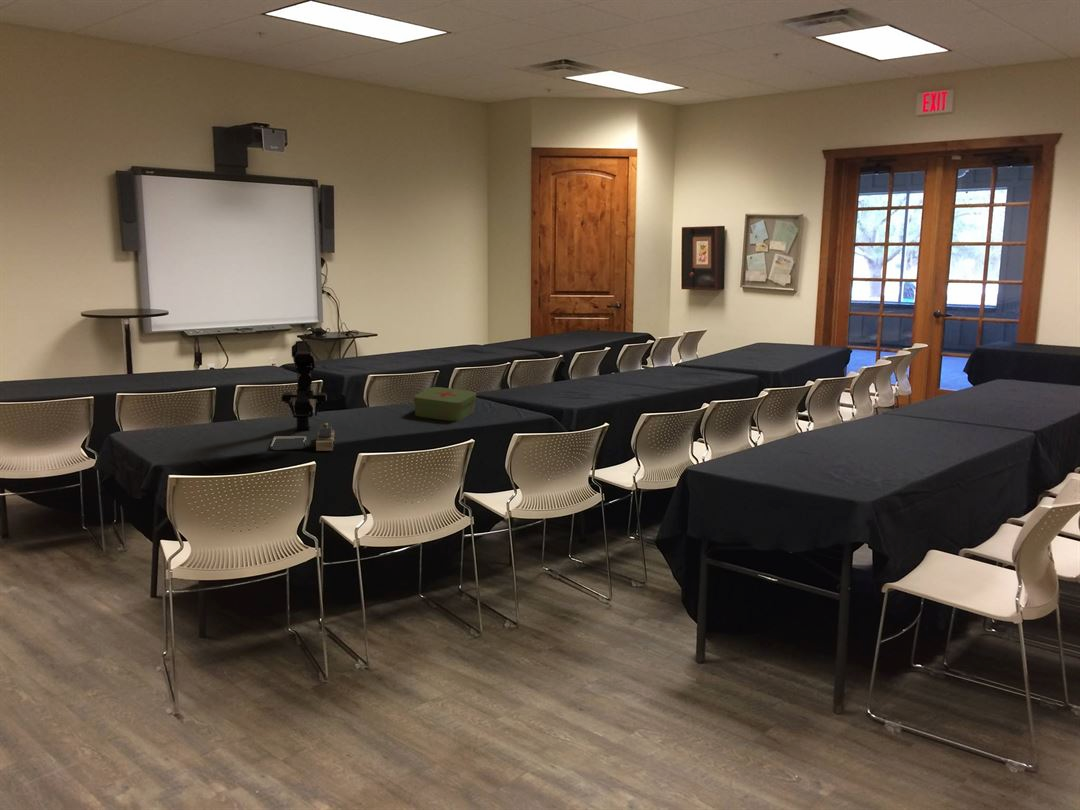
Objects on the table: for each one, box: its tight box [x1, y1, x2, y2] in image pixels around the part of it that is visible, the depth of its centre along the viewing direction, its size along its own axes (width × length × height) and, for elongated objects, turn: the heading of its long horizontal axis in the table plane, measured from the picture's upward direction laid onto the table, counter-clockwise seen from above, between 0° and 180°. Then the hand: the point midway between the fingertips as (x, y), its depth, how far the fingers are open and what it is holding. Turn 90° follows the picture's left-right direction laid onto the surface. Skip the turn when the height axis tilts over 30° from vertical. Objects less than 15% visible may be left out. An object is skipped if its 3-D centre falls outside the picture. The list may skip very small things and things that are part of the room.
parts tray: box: [269, 435, 307, 447], centre depth 392 cm, size 16×14×2 cm
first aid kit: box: [413, 386, 477, 422], centre depth 454 cm, size 26×26×10 cm
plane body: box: [315, 429, 336, 452], centre depth 394 cm, size 18×7×4 cm, turn 10°
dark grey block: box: [318, 422, 333, 438], centre depth 393 cm, size 7×5×5 cm
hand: (304, 415), depth 387 cm, fingers open, 9 cm apart
